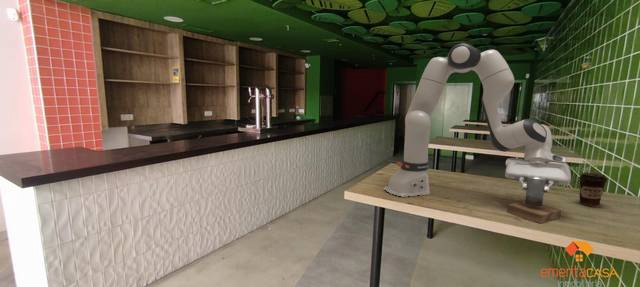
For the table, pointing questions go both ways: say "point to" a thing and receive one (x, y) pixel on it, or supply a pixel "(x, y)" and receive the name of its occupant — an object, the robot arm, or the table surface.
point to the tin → (535, 190)
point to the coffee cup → (591, 188)
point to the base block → (534, 212)
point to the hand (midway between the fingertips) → (535, 190)
